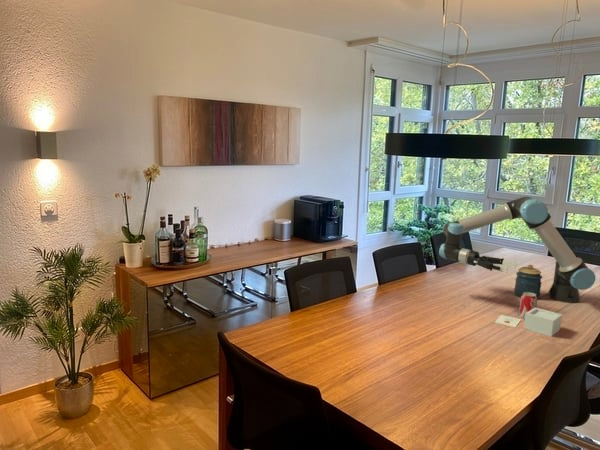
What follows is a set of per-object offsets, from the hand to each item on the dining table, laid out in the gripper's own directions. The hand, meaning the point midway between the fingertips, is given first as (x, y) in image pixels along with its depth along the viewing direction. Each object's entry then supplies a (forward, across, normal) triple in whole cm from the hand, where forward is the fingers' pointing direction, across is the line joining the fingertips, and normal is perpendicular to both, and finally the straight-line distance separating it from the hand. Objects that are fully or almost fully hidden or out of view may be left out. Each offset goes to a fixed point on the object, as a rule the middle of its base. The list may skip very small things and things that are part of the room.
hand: (511, 268), depth 224 cm
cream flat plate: (+6, +11, -23) cm, 26 cm away
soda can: (+11, 0, -22) cm, 25 cm away
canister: (+1, -36, -21) cm, 42 cm away
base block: (+20, +10, -22) cm, 31 cm away
